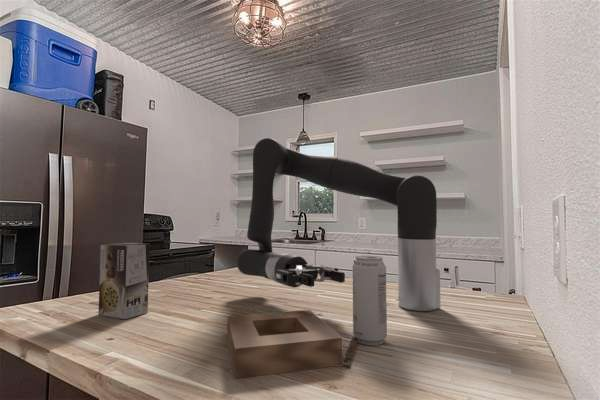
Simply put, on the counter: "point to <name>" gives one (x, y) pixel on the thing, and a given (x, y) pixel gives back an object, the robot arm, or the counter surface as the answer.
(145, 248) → the coffee box
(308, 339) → the socket block
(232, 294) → the counter surface
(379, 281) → the energy drink can
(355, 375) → the counter surface
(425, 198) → the robot arm
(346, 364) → the brown wooden stick
